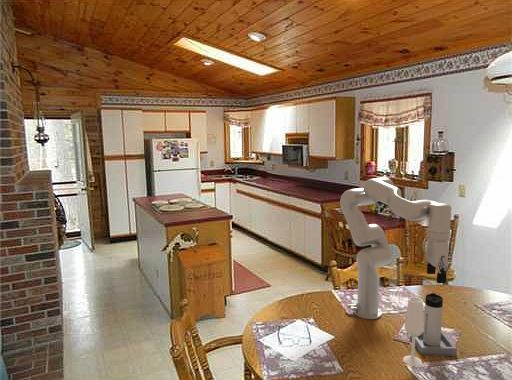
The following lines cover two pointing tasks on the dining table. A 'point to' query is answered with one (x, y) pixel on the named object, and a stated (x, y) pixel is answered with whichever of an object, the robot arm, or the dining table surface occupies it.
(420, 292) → the dining table surface
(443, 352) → the tray
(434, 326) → the travel mug
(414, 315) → the champagne flute
